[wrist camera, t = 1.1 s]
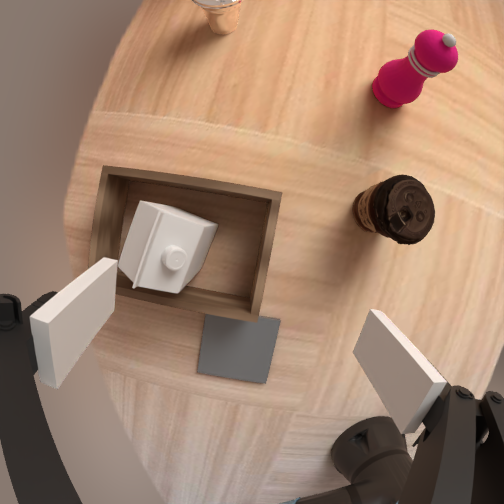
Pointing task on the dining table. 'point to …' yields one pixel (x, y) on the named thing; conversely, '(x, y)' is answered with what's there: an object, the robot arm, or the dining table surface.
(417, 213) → the coffee cup
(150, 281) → the milk carton
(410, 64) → the pepper mill
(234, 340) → the coaster
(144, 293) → the crate
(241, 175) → the dining table surface
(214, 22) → the cup with straw
